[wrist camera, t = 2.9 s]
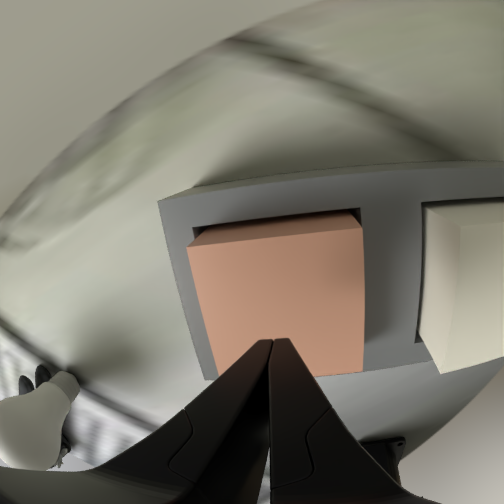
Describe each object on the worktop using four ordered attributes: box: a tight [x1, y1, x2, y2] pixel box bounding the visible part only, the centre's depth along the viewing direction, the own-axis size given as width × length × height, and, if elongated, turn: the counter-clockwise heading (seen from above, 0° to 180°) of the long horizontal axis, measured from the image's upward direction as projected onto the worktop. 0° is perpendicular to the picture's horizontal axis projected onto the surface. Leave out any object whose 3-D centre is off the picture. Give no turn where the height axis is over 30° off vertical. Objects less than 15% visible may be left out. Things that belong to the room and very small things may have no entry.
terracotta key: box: [186, 209, 365, 377], centre depth 12 cm, size 6×6×4 cm
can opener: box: [19, 366, 71, 468], centre depth 23 cm, size 18×7×6 cm, turn 157°
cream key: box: [416, 197, 504, 374], centre depth 10 cm, size 6×6×4 cm
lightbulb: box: [0, 371, 80, 471], centre depth 17 cm, size 6×6×11 cm
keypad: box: [157, 161, 504, 380], centre depth 13 cm, size 9×17×4 cm, turn 99°
